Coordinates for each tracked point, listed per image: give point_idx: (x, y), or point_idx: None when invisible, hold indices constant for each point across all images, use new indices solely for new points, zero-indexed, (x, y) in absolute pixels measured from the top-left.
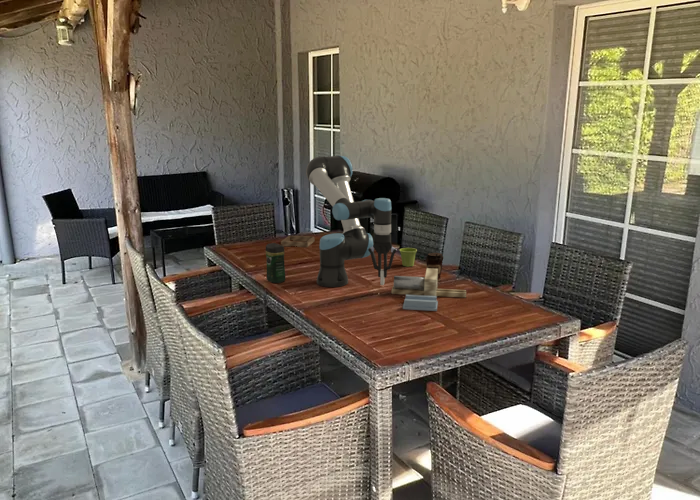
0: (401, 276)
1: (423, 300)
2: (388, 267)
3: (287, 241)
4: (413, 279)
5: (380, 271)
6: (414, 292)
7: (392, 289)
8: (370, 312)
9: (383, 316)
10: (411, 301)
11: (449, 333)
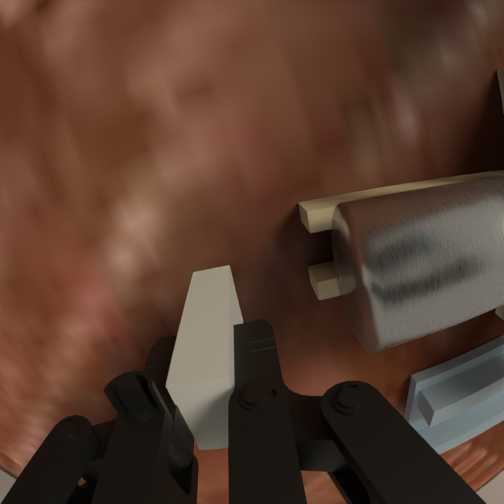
0: (462, 299)
1: (488, 424)
2: (343, 476)
3: None
4: None
5: (201, 445)
6: None
7: (326, 296)
8: None
9: (331, 501)
10: (443, 449)
11: (480, 471)
